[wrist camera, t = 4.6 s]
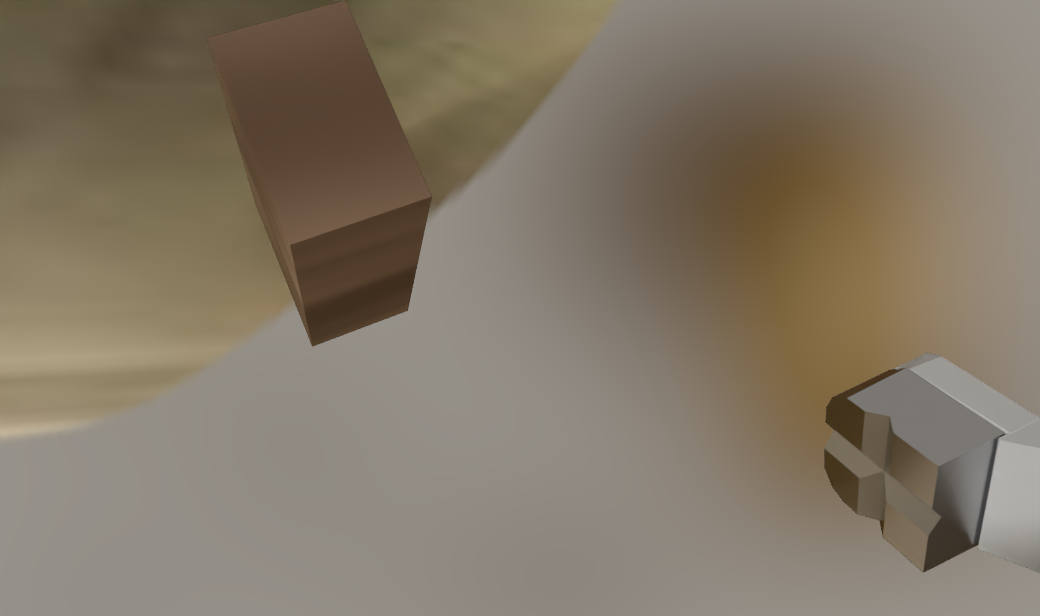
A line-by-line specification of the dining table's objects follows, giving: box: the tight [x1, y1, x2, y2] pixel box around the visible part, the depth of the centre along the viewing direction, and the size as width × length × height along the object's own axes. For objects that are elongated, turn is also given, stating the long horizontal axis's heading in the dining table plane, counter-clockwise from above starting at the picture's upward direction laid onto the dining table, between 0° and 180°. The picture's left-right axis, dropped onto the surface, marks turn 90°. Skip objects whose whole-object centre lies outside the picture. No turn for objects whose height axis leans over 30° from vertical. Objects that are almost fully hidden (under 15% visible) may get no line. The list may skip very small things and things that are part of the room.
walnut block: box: [207, 0, 432, 346], centre depth 19 cm, size 4×2×8 cm, turn 24°
